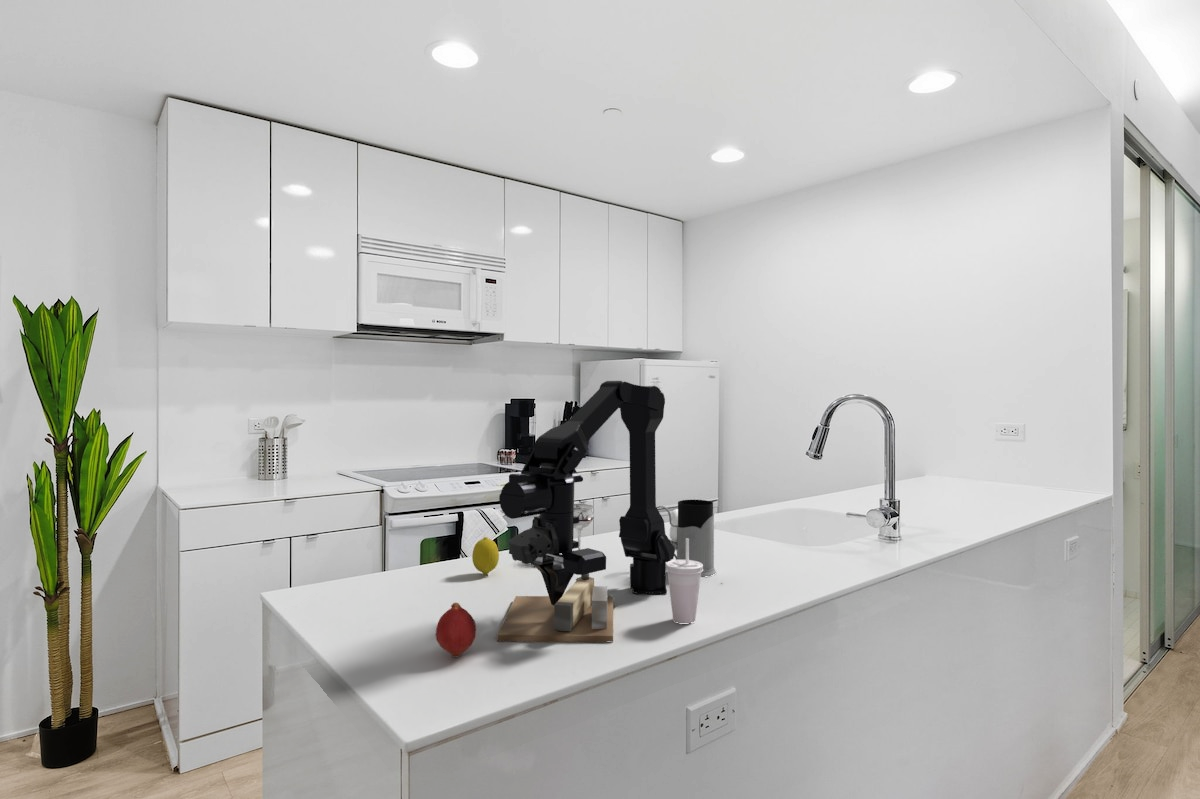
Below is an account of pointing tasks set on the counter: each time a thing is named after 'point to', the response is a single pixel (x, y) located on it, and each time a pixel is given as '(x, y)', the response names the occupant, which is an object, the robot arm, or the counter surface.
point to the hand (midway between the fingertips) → (554, 604)
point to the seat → (536, 620)
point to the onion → (456, 630)
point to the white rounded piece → (675, 522)
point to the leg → (573, 604)
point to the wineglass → (582, 518)
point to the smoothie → (684, 587)
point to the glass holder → (695, 532)
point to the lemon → (485, 555)
